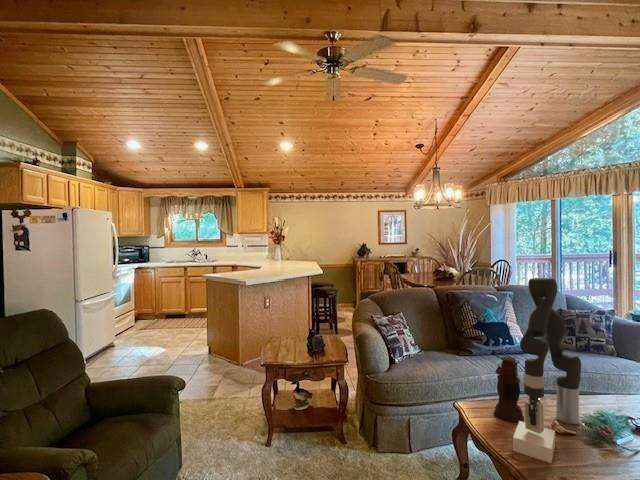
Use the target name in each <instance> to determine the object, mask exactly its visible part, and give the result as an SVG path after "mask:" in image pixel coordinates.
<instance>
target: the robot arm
mask: <svg viewBox="0 0 640 480" xmlns="http://www.w3.org/2000/svg"><path fill="white" fill-rule="evenodd" d="M527 286H528V289H529V290H528V291H529V294H530V296H531V298H532V301H533V303H534V305H535V307H536V308H535V309H534V310H533V311H532V313H531V314H530V315H529V319H528V325H527V329H526V331H525V333H524V335H523V336H522V337H521V340H520V343H519V348H520V350H521V352H522V353H524V354H527V355H532V356H535V357H536V356H537V357H536V358H526V359H525V361H524V376H523V381H524V382H523V393H524V394H525V395H526V396H528V397H529V398H528V403H529V405H528V406H529V417H530V424H531V425H534V426H536V417H537V416H536V412H538V408H537V407H536V405H537V406H538V405H539V403H541V399H542V398H544V397H545V377H544V374H545V373H544V366H545V361H546V357H547V355H548V352H549V353H550V357H551V362H552V365H553V367H554V368H556V369H557V370H559V371H563V372H564V373H566V375H564V376H563V375H562V376H557V378H556V381H555V383H556V385H555V386H556V395H555V396H556V416H555V417H556V419H557V420H558V421H560V422H561V423H565V424H569V425H578V424H579V423H580V383H581V378H582V376H581V375H582V361H581V358H580V356H577V355H574V354H572V353H568V352H566V351H565V350H564V348H563V345H562V342H563V340H564V339H565V336H566V334H567V328H566V325H565V321H564V319H563V316H561V314H560V313H559V312H557V311H556V310H555V309H554V308H553V305H554V303H555V300H556V297H557V295H558V294H557V293H558V283H557V280H556V279H555V278H553V277H550V276H549V277H546V276H545V277H532V278H529V280H528V283H527ZM542 337H546V340H545V339H538V338H542ZM531 413H534V414H531Z"/></svg>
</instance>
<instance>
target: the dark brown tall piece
mask: <svg viewBox="0 0 640 480" xmlns="http://www.w3.org/2000/svg"><path fill="white" fill-rule="evenodd" d="M500 359H501V363H498V364H497V368H496V370H495V373H496V374H497V375H496V376H497V377H496V378H497V384H496V389H497V394H498V402H497V403H496V405H495V407H494V410H493V415H494V417H495V418H497V420H500V421H503V422H504V423H509V424H518V423H519V421H522V422H525V415H523V410H522V407H521V406H520V405H519V404H518V402H519V399H520V394H521V386H520V383H521V380H520V378H519V377H518V375H519V372H518V364H519V363H520V358H519V357H517V356H514V357H511V356H502V357H501V358H500ZM517 359H518V361H517Z"/></svg>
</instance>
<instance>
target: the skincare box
mask: <svg viewBox="0 0 640 480" xmlns="http://www.w3.org/2000/svg"><path fill="white" fill-rule="evenodd" d="M528 399H529V398H528ZM528 399H526V400H524V422H525V428H526V429H528V430H531V431H533V432H536V433H538V434H540V433H542V432H543V431H544V428H545V426H544V425H545V421H544V403H543V402H540V403H539V405H538V406H537V405H536V407H537V408H538V412H536V416H537V417H536V426H534V425H531V424H530V417H529V406H528V405H529V403H528ZM531 414H534V413H531Z"/></svg>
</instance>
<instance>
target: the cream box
mask: <svg viewBox="0 0 640 480" xmlns="http://www.w3.org/2000/svg"><path fill="white" fill-rule="evenodd" d="M512 436H513V437H512V451H513V452H515V453H519V454H521V455H525V456H527V457H531V458H534V459H537V460H540V461H543V462H546V461H547V462H546V463H549V464H552V463H553V462H552V461H553V456H554V453H553V452H555V447H556V430H553V429H549V428H546V427H544V431H543V432H542V433H540V434H538V433H536V432H533V431H531V430H528V429H526V428H525V421H523V422H522V421H519V423H517V426H516V429H515V431H514V434H513V435H512Z"/></svg>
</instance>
